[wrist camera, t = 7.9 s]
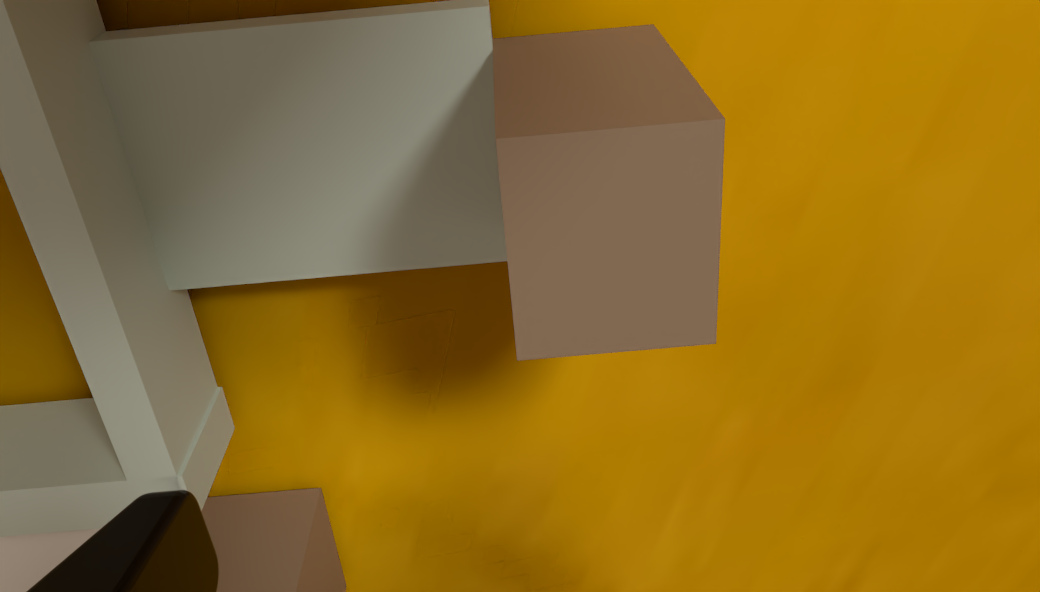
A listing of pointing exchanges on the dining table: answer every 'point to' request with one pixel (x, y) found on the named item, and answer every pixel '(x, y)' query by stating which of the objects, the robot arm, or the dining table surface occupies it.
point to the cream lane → (220, 545)
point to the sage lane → (328, 204)
